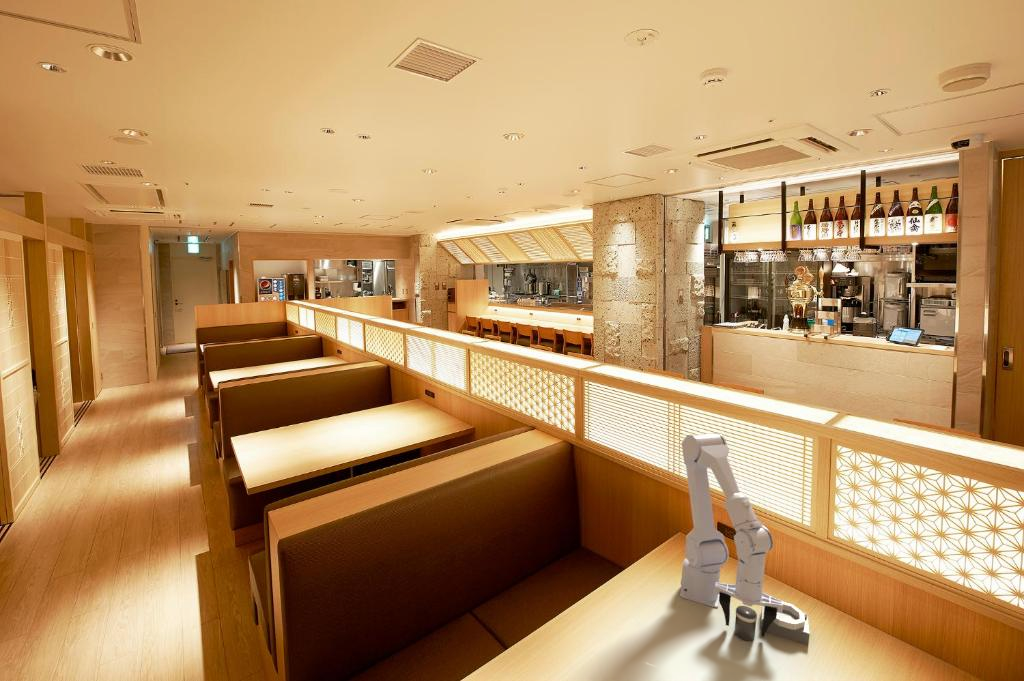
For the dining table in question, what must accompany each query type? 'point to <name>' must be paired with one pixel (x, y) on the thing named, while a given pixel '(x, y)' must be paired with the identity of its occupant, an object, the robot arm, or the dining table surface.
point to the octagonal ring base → (790, 624)
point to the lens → (745, 623)
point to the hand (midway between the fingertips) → (744, 628)
